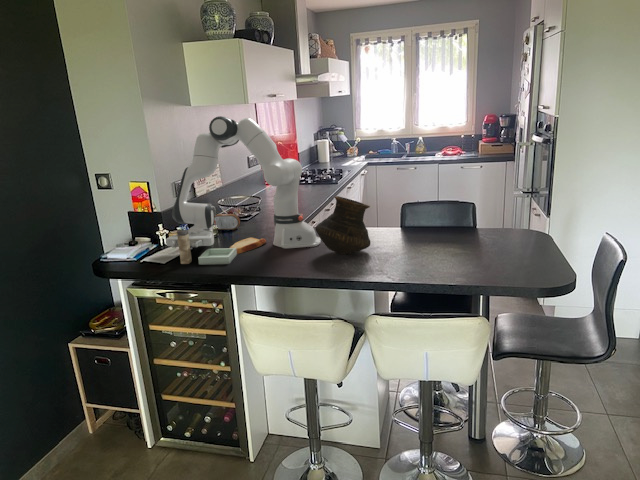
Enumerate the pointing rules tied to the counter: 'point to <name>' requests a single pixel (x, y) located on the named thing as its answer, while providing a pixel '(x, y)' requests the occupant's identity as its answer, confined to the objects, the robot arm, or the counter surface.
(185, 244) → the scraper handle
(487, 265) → the counter surface
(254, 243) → the slice of bread
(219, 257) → the box
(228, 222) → the tin
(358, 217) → the ceramic pot
